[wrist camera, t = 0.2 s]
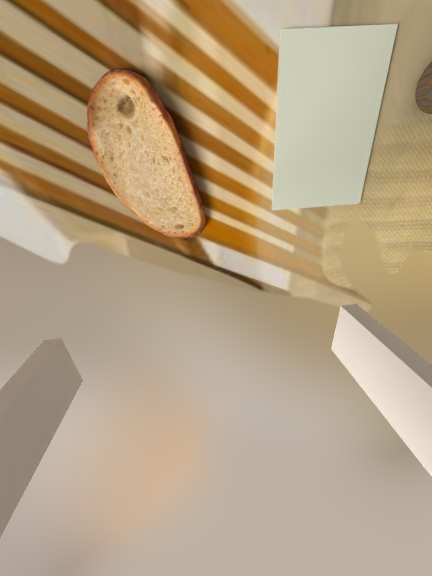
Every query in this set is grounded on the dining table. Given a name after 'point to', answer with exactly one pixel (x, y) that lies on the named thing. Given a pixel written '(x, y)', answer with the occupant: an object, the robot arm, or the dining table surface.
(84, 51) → the dining table surface
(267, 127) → the dining table surface
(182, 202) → the slice of bread
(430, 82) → the vase
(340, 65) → the mat
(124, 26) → the dining table surface
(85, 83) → the dining table surface
